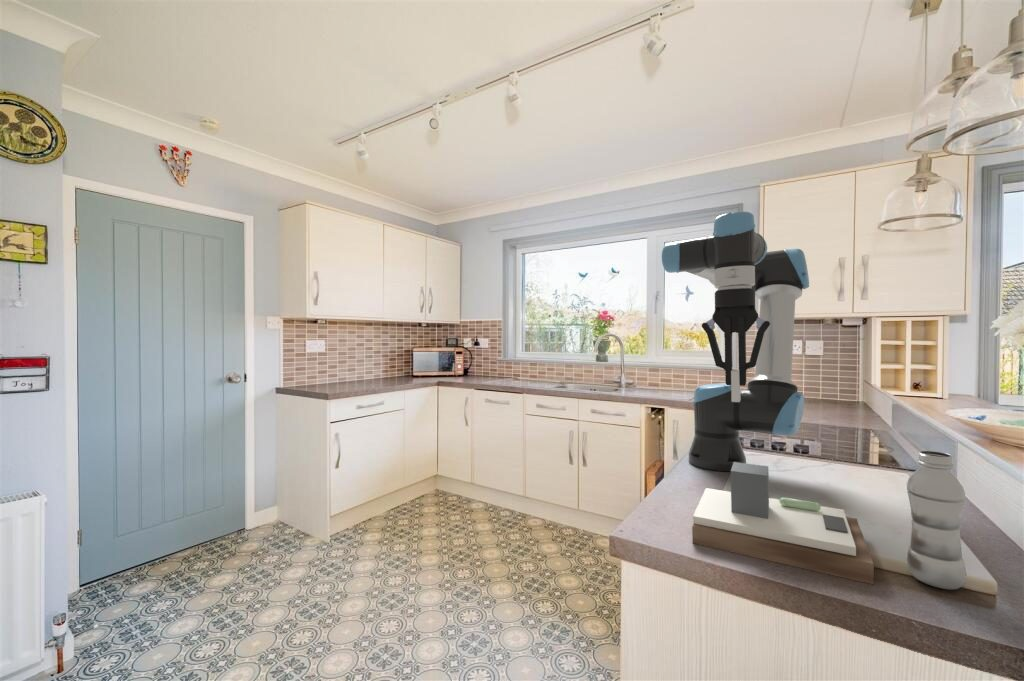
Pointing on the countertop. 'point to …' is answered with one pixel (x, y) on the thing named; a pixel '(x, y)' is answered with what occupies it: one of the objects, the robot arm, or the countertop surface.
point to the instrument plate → (772, 513)
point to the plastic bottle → (936, 522)
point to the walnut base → (793, 551)
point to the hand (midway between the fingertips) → (736, 400)
